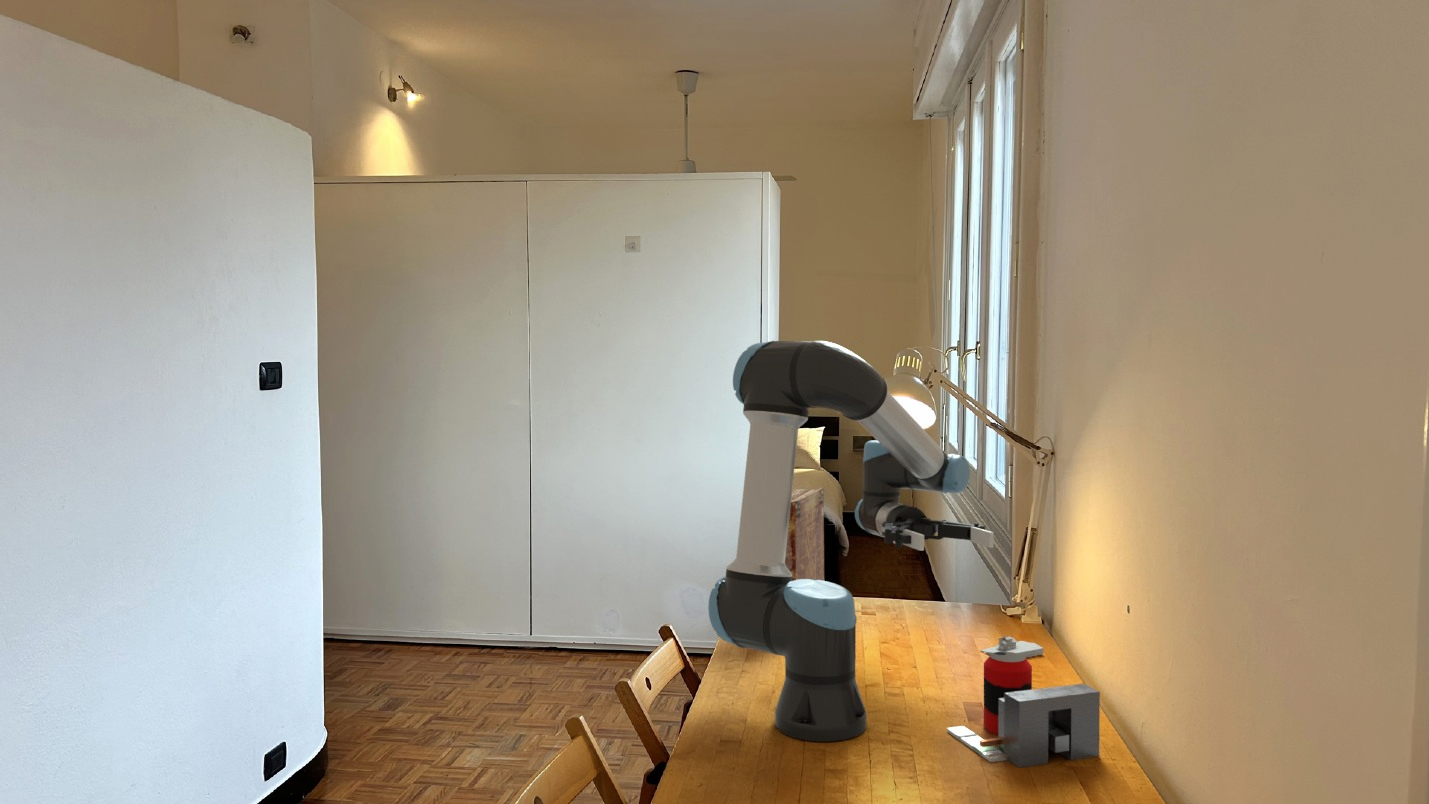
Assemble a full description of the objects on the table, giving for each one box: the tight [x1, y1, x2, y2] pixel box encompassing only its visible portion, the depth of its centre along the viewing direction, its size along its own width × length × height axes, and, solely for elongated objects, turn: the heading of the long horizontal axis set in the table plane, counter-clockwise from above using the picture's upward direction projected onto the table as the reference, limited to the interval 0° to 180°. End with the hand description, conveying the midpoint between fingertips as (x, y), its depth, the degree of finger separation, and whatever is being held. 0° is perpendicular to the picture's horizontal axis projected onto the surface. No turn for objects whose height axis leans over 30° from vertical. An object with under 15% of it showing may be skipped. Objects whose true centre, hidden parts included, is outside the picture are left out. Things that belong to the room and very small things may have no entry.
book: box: [785, 487, 825, 581], centre depth 230 cm, size 25×9×30 cm, turn 160°
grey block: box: [980, 698, 1069, 753], centre depth 154 cm, size 17×7×8 cm, turn 106°
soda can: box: [983, 652, 1033, 736], centre depth 166 cm, size 8×8×12 cm
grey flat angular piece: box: [981, 634, 1044, 659], centre depth 208 cm, size 12×11×4 cm
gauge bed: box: [946, 683, 1101, 768], centre depth 159 cm, size 17×16×10 cm
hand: (957, 541), depth 177 cm, fingers open, 13 cm apart
